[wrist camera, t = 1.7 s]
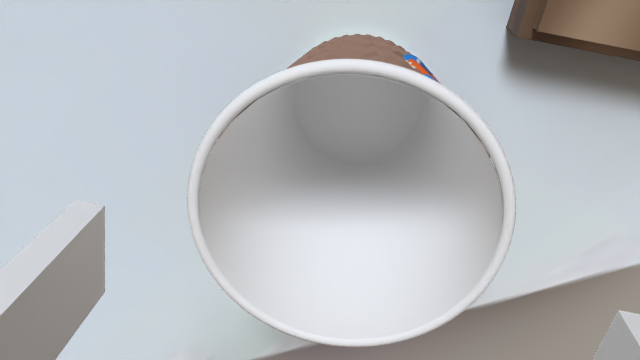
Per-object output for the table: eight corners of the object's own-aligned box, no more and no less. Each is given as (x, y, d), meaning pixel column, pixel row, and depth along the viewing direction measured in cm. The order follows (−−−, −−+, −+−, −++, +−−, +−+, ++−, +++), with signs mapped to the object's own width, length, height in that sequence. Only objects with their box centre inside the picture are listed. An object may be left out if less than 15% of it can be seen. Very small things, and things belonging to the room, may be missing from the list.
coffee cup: (472, 176, 29) (528, 332, 19) (285, 206, 31) (237, 363, 20) (448, -26, 25) (502, 25, 14) (233, 22, 27) (138, 99, 16)
